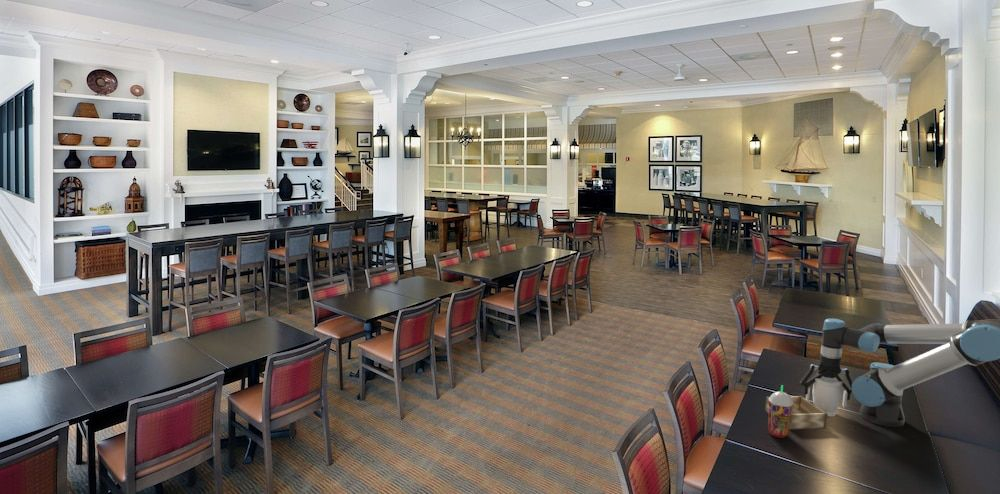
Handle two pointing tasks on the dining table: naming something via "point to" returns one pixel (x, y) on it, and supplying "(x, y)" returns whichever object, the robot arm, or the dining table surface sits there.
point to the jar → (827, 394)
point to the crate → (804, 414)
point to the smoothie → (779, 413)
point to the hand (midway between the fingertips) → (825, 404)
